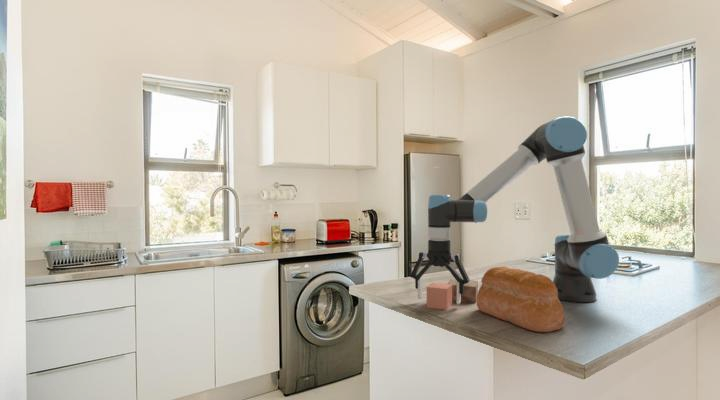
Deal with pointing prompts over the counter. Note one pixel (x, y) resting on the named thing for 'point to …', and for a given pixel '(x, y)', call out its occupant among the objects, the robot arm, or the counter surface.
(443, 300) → the pink cube
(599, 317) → the counter surface
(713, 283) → the counter surface
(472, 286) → the walnut plinth
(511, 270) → the bread
